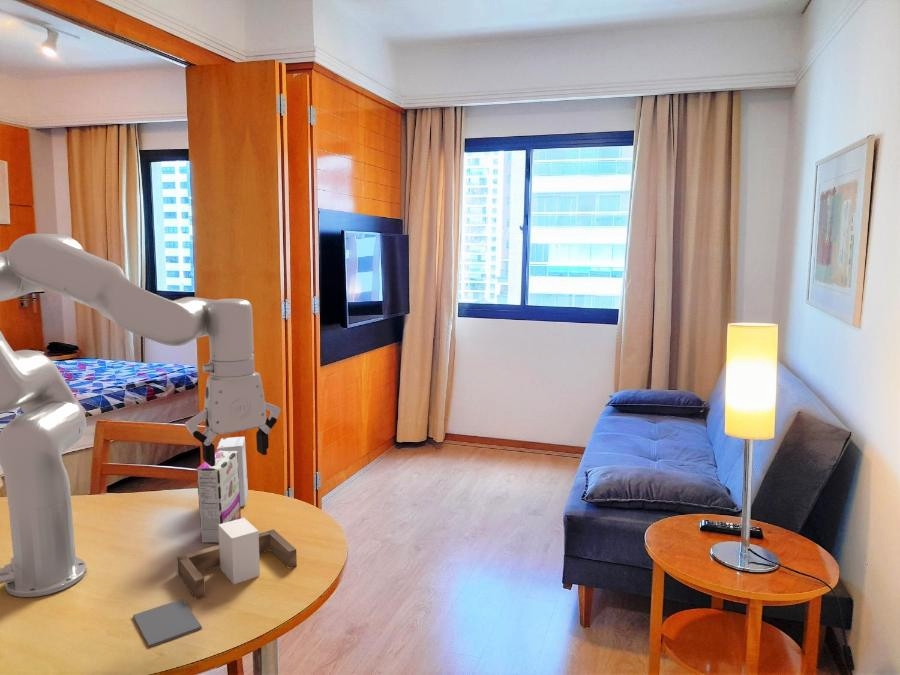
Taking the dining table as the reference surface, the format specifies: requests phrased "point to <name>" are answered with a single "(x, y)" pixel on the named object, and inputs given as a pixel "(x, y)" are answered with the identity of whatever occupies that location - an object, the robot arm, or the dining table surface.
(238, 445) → the skincare box
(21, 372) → the robot arm
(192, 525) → the dining table surface
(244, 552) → the white box
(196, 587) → the frame
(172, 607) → the rubber mat
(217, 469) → the candy bar box
